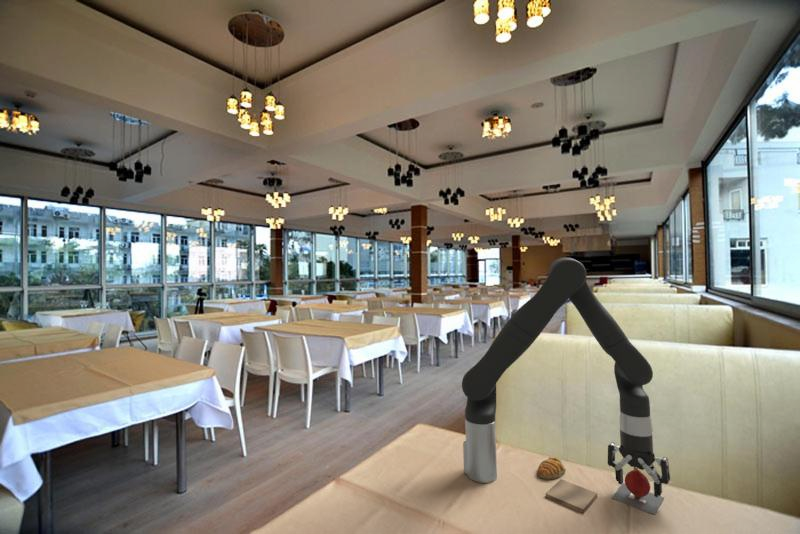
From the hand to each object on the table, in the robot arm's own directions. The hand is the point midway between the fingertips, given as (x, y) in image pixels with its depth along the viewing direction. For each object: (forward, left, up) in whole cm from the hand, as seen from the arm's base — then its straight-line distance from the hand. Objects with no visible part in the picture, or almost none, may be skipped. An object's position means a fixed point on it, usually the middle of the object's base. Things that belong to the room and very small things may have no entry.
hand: (638, 489), depth 100 cm
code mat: (0, 0, -3) cm, 3 cm away
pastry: (-23, -4, -3) cm, 23 cm away
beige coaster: (-13, -12, -3) cm, 18 cm away
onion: (0, 0, -3) cm, 3 cm away
